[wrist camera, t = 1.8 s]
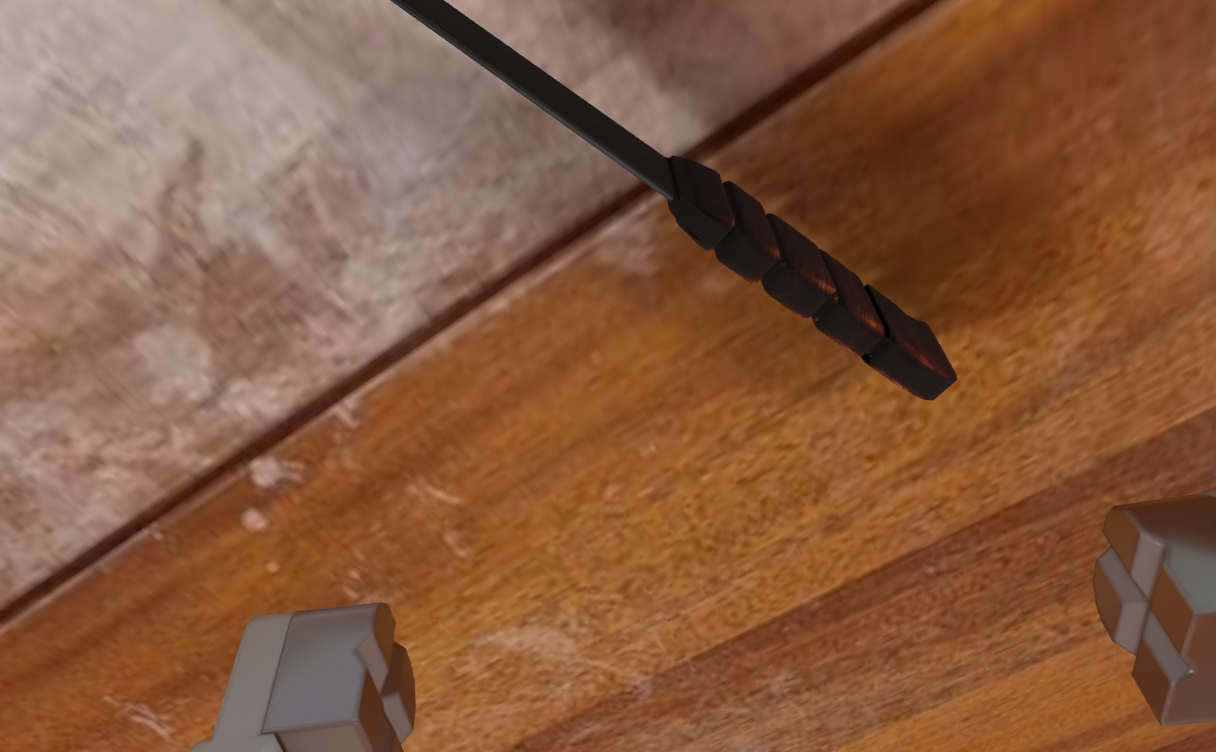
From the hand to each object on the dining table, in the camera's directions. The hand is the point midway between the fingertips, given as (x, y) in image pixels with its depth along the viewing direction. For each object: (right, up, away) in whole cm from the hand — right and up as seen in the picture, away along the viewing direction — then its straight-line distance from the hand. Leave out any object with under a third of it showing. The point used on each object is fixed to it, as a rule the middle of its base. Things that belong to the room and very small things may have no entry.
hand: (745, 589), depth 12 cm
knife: (0, +7, +10) cm, 13 cm away
